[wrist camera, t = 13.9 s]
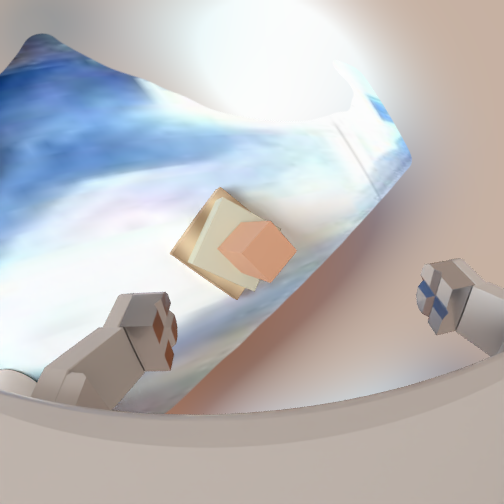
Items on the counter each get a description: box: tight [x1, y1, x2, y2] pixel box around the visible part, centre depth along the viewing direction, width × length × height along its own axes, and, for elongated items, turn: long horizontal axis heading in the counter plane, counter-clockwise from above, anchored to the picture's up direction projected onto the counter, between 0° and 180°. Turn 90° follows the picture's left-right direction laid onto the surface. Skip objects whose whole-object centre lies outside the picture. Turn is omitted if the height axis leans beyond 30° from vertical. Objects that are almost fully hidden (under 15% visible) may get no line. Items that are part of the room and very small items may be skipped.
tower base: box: [170, 187, 252, 300], centre depth 42 cm, size 11×11×3 cm
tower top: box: [188, 197, 281, 292], centre depth 40 cm, size 9×9×3 cm
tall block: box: [217, 221, 297, 283], centre depth 35 cm, size 4×4×8 cm
